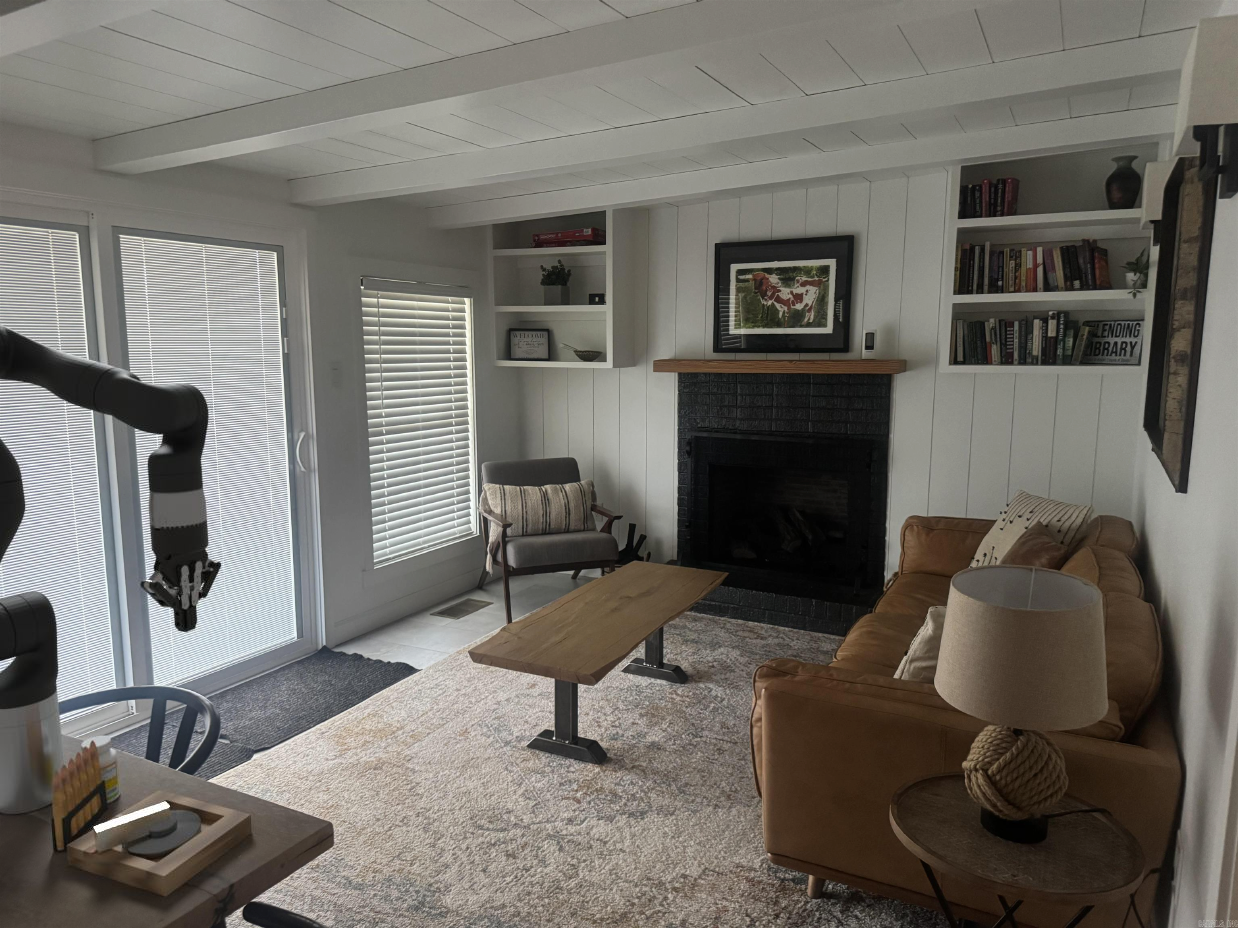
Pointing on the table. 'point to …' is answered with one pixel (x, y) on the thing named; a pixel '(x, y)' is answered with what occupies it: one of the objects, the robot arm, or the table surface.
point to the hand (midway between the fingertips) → (186, 629)
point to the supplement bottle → (107, 765)
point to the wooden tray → (178, 867)
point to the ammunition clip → (77, 798)
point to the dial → (149, 831)
